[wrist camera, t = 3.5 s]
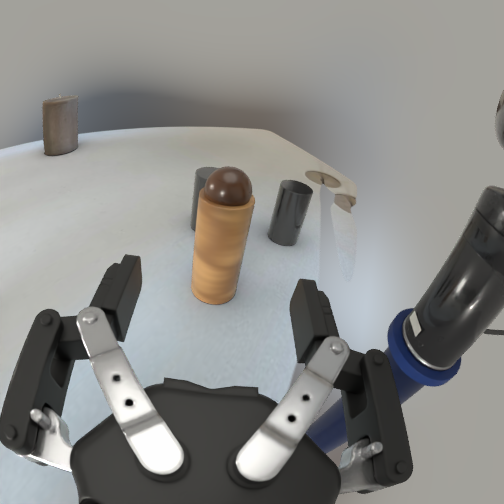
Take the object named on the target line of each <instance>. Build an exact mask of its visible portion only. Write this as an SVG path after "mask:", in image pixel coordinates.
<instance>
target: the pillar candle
mask: <svg viewBox="0 0 504 504" xmlns="http://www.w3.org/2000/svg"><path fill="white" fill-rule="evenodd" d="M59 95H60V94H59ZM77 114H78V96H64V97H61V96H60V97H57V98H53V99H49V100H45V101H43V137H44V140H43V141H44V150H45V152H44V154H46V155H48V156H52V155H60V154H65V153H68V152H71V151H73V150H75V149H76V148H77V147H78V125H77V124H78V120H77V119H78V115H77Z"/></svg>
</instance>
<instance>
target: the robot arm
mask: <svg viewBox="0 0 504 504" xmlns="http://www.w3.org/2000/svg"><path fill="white" fill-rule="evenodd" d="M495 131H496V136H497V139H498V142H499V144H500V146H501V147H502V148H503V149H504V90H503V92H502V95H501V98H500V101H499V104H498V108H497V114H496V120H495ZM141 286H142V273H141V259H140V256H134V255H127V254H126V255H125V256H124V257H123V259H122V261H121V264H118V263H114V264H113V265H112V266H110V267H109V268H108V269H107V271H106V273H105V275H104V278H103V279H102V281H101V284H100V285H99V287H98V289H97V291H96V293H95V295H94V297H93V299H92V302H91V304H90V306H89V307H87V308H84V309H83V310H81V311H80V312H79V314H78V315H77V316H68V317H60V315H59V313H58V312H57V311H55V310H53V309H46V310H43V311H41V312H40V313H39V314H38V315H37V316H36V318H35V320H34V322H33V324H32V327H31V329H30V331H29V334H28V336H27V338H26V341H25V343H24V346H23V348H22V351H21V353H20V356H19V359H18V361H17V364H16V367H15V370H14V372H13V375H12V378H11V381H10V384H9V388H8V391H7V394H6V398H5V401H4V405H3V408H2V412H1V416H0V441H1V442H2V444H3V445H4V446H5V447H7V448H8V449H10V450H12V451H14V452H15V453H16V454H18V455H19V456H21V457H23V458H25V459H27V460H29V461H31V462H35V463H37V464H39V465H42V466H47V465H50V466H53V467H56V468H59V469H62V470H65V471H68V472H71V473H72V475H73V477H74V480H75V483H76V486H77V490H78V496H79V504H335V501H336V499H337V497H338V495H339V494H342V493H350V492H356V491H357V492H358V493H361V494H366V493H370V492H374V491H377V490H380V489H384V488H387V487H390V486H393V485H396V484H399V483H402V482H405V481H406V480H407V479H408V478H409V477H410V476H411V474H412V471H413V463H412V457H411V451H410V446H409V441H408V436H407V431H406V426H405V422H404V417H403V413H402V408H401V404H400V400H399V396H398V392H397V388H396V385H395V381H394V377H393V373H392V370H391V366H390V363H389V360H388V358H387V356H386V355H385V354H384V353H383V352H382V351H380V350H377V349H371V350H369V351H367V353H366V354H363V353H360V352H357V351H353V350H351V349H349V346H348V344H347V343H346V342H345V341H344V340H343V339H341V338H340V337H339V334H338V330H337V327H336V323H335V320H334V316H333V315H332V314H333V313H332V310H331V306H330V302H329V299H328V298H327V296H326V295H325V294H324V292H323V291H318V289H317V286H316V282H315V281H314V280H307V279H299V281H298V283H297V286H296V288H295V291H294V293H293V296H292V298H291V301H290V316H291V322H292V329H293V335H294V341H295V348H296V355H297V361H298V363H305V366H306V367H305V369H304V370H303V372H302V373H301V374H300V376H299V377H298V379H297V380H296V381H295V383H294V384H293V385H292V387H291V388H290V390H289V391H288V392H287V394H286V395H285V396H284V397H283V399H282V400H281V401H280V403H279V404H277V403H276V402H275V401H273V400H272V399H270V398H268V397H266V396H264V395H262V394H258V387H243V386H232V387H225V388H217V389H209V388H206V387H203V386H200V385H197V384H194V383H192V382H189V381H185V380H178V379H171V378H165V377H164V383H162V384H155V385H152V386H149V387H146V388H144V389H143V387H142V386H141V384H140V382H139V380H138V378H137V377H136V375H135V373H134V371H133V369H132V367H131V365H130V363H129V361H128V360H127V358H126V356H125V354H124V352H123V350H122V348H121V347H120V346H119V345H118V342H117V341H121V342H124V340H125V337H126V334H127V330H128V327H129V324H130V321H131V318H132V315H133V312H134V309H135V306H136V303H137V300H138V297H139V294H140V291H141ZM503 308H504V188H500V187H496V186H487V187H485V189H484V190H483V191H482V193H481V195H480V197H479V200H478V202H477V204H476V207H475V208H474V210H473V212H472V214H471V216H470V218H469V220H468V222H467V224H466V226H465V228H464V230H463V232H462V234H461V235H460V237H459V239H458V241H457V243H456V244H455V246H454V248H453V250H452V251H451V253H450V255H449V257H448V258H447V260H446V261H445V263H444V265H443V266H442V268H441V270H440V271H439V273H438V274H437V276H436V278H435V279H434V280H433V282H432V284H431V285H430V287H429V288H428V290H427V291H426V292H425V294H424V295H423V297H422V298H421V300H420V301H419V303H418V304H417V305H416V307H415V308H414V309H413V311H412V312H411V313H410V314H409V315H408V316H407V317H406V319H405V320H404V322H403V324H402V338H403V341H404V343H405V346H406V348H407V349H408V351H409V352H410V354H411V355H412V356H413V357H414V359H415V360H416V361H418V362H419V363H420V364H421V365H423V366H424V367H426V368H428V369H430V370H433V371H446V370H448V369H449V368H450V367H452V366H453V365H454V364H455V362H456V361H457V360H458V359H459V358H460V357H461V356H462V355H463V354H464V353H465V352H466V351H467V350H468V349H469V348H470V347H471V346H472V345H473V343H474V342H475V341H476V340H477V339H478V338H479V337H480V336H481V335H482V334H483V333H485V334H493V335H504V330H490V329H487V328H488V327H489V325H490V324H491V323H492V322H493V321H494V319H495V318H496V317H497V316H498V314H499V313H500V312H501V311H502V309H503ZM83 359H89V360H90V363H91V366H92V368H93V370H94V373H95V375H96V378H97V380H98V382H99V385H100V387H101V389H102V391H103V393H104V396H105V398H106V400H107V402H108V404H109V406H110V408H111V410H112V412H113V413H112V414H111V415H110V416H108V417H107V418H106V419H105V420H103V421H102V422H101V423H100V424H98V425H97V426H96V427H95V428H93V429H92V430H91V431H90V432H88V433H87V434H86V435H84V436H83V437H82V438H81V439H79V440H78V441H77V442H76V443H75V445H74V446H72V445H71V443H70V440H69V429H68V426H67V424H66V423H65V421H64V420H63V419H61V415H62V411H63V406H64V401H65V397H66V393H67V389H68V385H69V381H70V377H71V373H72V370H73V366H74V363H75V360H83ZM333 388H336V389H340V390H341V394H342V401H343V408H344V415H345V423H346V431H347V439H348V446H349V447H347V448H346V449H345V450H344V451H343V453H342V455H341V463H340V466H339V467H337V466H336V464H335V463H334V462H333V461H332V460H331V459H330V458H329V457H328V456H327V455H326V454H325V453H324V452H323V451H322V450H321V449H320V448H319V447H318V446H317V445H316V444H315V443H314V442H313V441H312V440H311V439H310V438H309V437H308V436H307V435H306V431H307V430H308V428H309V426H310V425H311V423H312V421H313V420H314V419H315V417H316V415H317V414H318V412H319V411H320V409H321V407H322V406H323V404H324V403H325V401H326V399H327V398H328V396H329V394H330V392H331V391H332V389H333Z"/></svg>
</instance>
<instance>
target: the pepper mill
mask: <svg viewBox="0 0 504 504" xmlns="http://www.w3.org/2000/svg"><path fill="white" fill-rule="evenodd" d="M254 204H255V198H254V196H253V195H252V185H251V181H250V179H249V177H248V176H247V175H246V174H245V173H244V172H243V171H242V170H240V169H238V168H235V167H229V166H228V167H222V168H219V169H217V170H215V171H214V172H213V173H212V174H211V175H210V176H209V177H208V179H207V181H206V183H205V187H204V188H202V189H201V190H200V192H199V200H198V209H197V219H196V230H195V242H194V254H193V268H192V283H191V289H192V292H193V294H194V295H195V296H196V297H197V298H198V299H199V300H201V301H203V302H205V303H208V304H223V303H226V302H228V301H230V300H231V299H232V298H233V297H234V295H235V292H236V288H237V283H238V278H239V274H240V269H241V264H242V260H243V255H244V250H245V246H246V241H247V236H248V232H249V227H250V222H251V218H252V213H253V209H254Z"/></svg>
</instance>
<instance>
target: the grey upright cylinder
mask: <svg viewBox="0 0 504 504" xmlns="http://www.w3.org/2000/svg"><path fill="white" fill-rule="evenodd" d="M217 169H219V168H214V167H203V168H199V169H197V170H196V173H195V182H194V192H193V203H192V214H191V228H192V229H193V230H194V231H195V230H196V219H197V209H198V200H199V192H200V190H201V189H202V188H204V187H205V183H206V181H207V179H208V177H209V176H210V175H211V174H212V173H213V172H214V171H215V170H217Z"/></svg>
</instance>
